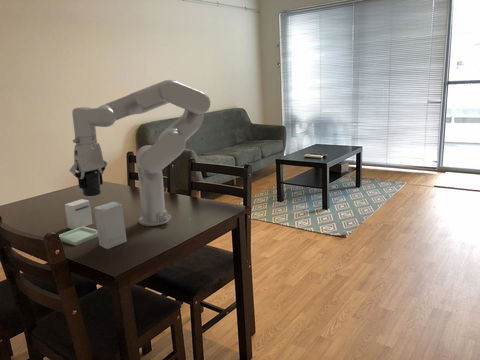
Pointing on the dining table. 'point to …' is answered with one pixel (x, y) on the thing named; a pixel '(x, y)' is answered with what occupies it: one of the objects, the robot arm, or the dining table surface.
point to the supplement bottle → (92, 183)
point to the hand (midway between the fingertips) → (91, 185)
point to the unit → (78, 214)
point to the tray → (78, 235)
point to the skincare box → (110, 224)
